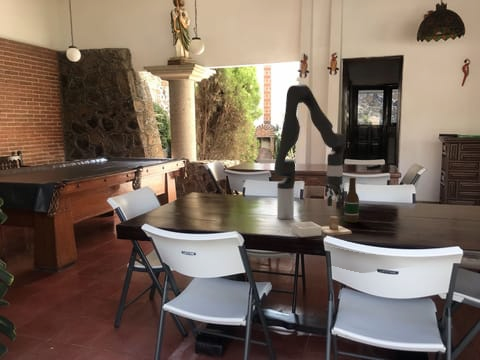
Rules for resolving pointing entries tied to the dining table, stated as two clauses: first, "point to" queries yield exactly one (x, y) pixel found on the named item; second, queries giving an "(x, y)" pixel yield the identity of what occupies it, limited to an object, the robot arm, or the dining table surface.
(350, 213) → the beer bottle
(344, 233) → the mat
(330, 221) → the lid
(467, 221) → the dining table surface
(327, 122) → the robot arm
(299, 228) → the beige square tray
